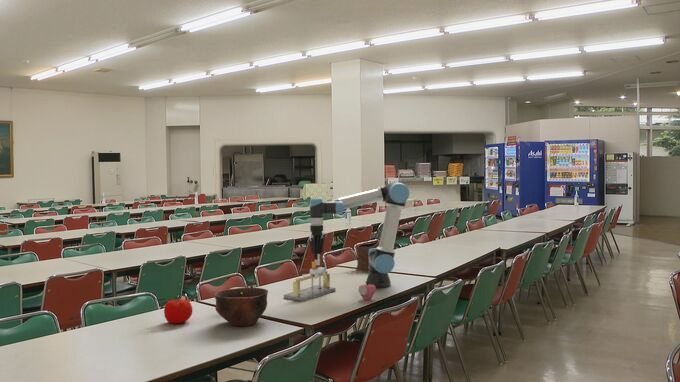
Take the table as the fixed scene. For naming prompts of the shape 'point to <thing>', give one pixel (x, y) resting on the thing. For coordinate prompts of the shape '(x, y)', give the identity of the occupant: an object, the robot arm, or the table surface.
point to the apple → (367, 291)
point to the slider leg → (313, 271)
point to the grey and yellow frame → (307, 292)
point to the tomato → (177, 311)
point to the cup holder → (363, 255)
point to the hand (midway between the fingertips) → (317, 264)
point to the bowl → (241, 305)
